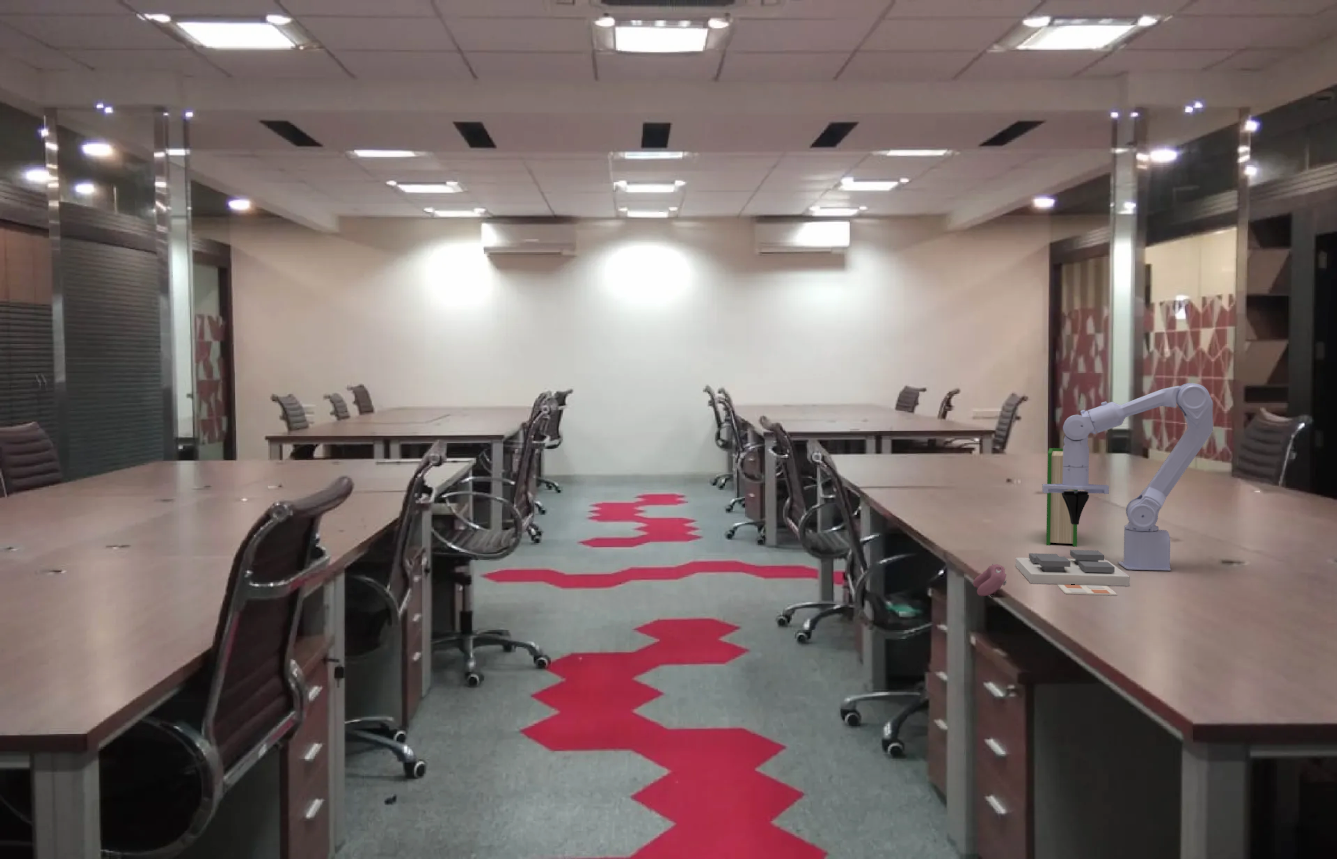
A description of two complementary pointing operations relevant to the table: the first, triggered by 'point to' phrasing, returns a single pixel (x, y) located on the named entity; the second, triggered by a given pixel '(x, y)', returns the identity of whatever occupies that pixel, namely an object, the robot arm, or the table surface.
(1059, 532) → the hardback book
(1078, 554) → the button
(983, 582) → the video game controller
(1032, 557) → the button
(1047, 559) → the button
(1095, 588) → the pattern card
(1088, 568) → the button
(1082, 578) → the button board
